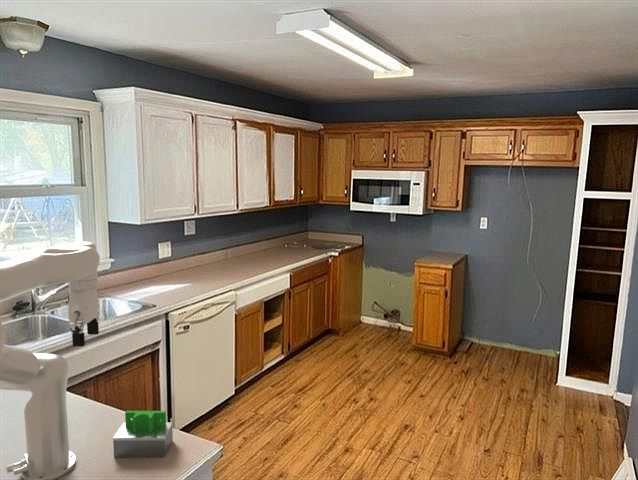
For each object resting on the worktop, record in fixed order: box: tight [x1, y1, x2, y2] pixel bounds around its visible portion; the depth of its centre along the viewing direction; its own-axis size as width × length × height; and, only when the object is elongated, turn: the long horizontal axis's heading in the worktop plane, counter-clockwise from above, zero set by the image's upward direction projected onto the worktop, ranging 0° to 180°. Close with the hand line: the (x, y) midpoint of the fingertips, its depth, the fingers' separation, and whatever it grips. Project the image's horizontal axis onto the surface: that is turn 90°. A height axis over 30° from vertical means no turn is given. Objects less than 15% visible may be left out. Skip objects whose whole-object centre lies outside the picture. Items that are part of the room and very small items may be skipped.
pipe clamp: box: [124, 410, 167, 432], centre depth 133 cm, size 11×4×5 cm, turn 92°
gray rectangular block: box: [112, 421, 174, 459], centre depth 133 cm, size 14×8×6 cm, turn 93°
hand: (86, 339), depth 140 cm, fingers open, 9 cm apart
